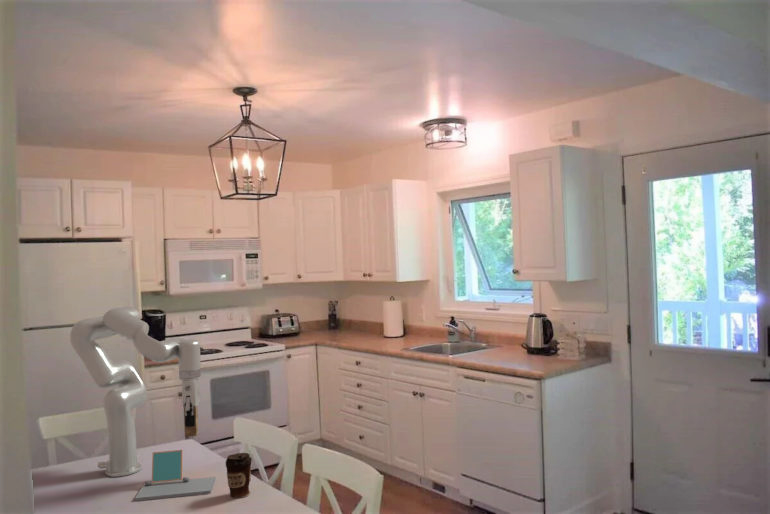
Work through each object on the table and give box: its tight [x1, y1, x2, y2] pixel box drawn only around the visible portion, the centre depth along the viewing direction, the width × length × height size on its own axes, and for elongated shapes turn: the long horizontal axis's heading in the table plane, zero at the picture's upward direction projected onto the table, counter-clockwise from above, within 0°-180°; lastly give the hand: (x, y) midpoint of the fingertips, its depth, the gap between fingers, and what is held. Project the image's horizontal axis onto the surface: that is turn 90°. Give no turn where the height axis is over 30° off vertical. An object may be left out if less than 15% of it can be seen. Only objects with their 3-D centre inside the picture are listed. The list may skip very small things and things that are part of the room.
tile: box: [151, 449, 184, 483], centre depth 215 cm, size 10×10×1 cm
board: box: [134, 476, 217, 502], centre depth 210 cm, size 24×13×2 cm, turn 98°
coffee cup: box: [225, 452, 253, 499], centre depth 202 cm, size 9×8×13 cm
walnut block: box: [183, 404, 199, 438], centre depth 223 cm, size 4×4×12 cm
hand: (191, 423), depth 223 cm, fingers closed on walnut block, 4 cm apart
